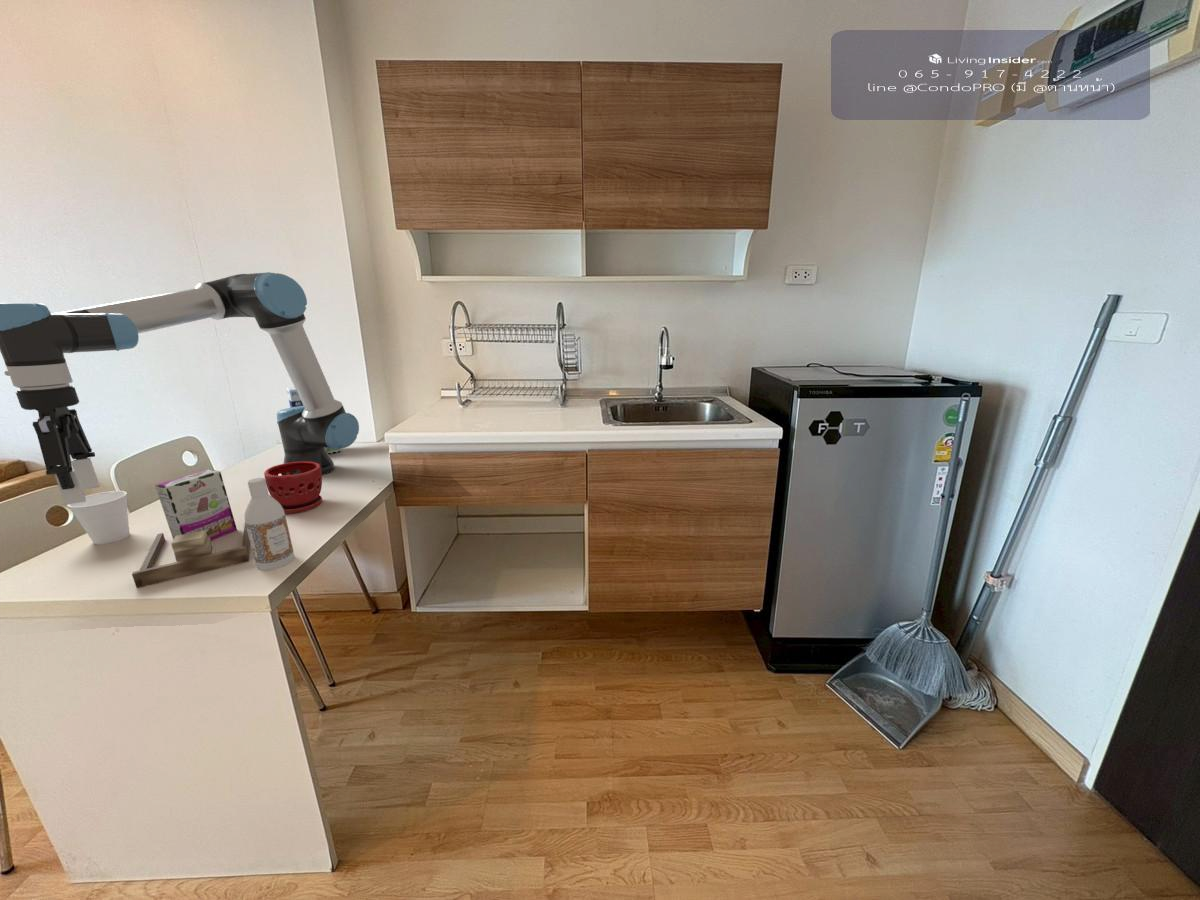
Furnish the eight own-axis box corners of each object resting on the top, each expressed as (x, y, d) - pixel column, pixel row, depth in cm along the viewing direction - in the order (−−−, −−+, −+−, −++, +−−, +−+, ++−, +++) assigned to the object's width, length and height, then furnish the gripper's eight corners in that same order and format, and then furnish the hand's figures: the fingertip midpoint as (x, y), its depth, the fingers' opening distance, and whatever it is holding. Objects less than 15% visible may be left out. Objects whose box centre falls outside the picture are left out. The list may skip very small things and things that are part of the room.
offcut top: (207, 538, 102) (205, 530, 102) (204, 546, 99) (201, 537, 98) (178, 544, 100) (176, 535, 99) (173, 552, 97) (171, 543, 96)
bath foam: (268, 577, 97) (246, 488, 91) (250, 568, 100) (228, 482, 94) (302, 561, 103) (283, 477, 97) (284, 554, 106) (265, 472, 100)
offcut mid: (212, 546, 104) (209, 536, 103) (211, 555, 100) (208, 544, 100) (179, 554, 101) (176, 544, 100) (177, 563, 97) (174, 552, 96)
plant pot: (280, 522, 122) (271, 479, 118) (267, 508, 130) (257, 468, 127) (334, 506, 131) (326, 466, 127) (318, 494, 139) (310, 457, 136)
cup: (114, 530, 118) (99, 490, 114) (151, 530, 117) (138, 490, 114) (70, 550, 108) (53, 507, 105) (111, 550, 108) (95, 507, 105)
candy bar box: (225, 528, 118) (208, 468, 113) (238, 531, 117) (222, 470, 112) (173, 549, 108) (153, 484, 103) (187, 553, 107) (167, 486, 102)
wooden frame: (252, 524, 121) (249, 510, 120) (249, 564, 102) (245, 548, 101) (160, 543, 111) (155, 528, 110) (138, 591, 92) (131, 574, 91)
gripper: (38, 381, 96) (74, 483, 102) (-12, 397, 79) (35, 518, 85) (89, 378, 100) (121, 476, 106) (52, 392, 83) (93, 508, 89)
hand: (83, 495), depth 96 cm, fingers open, 9 cm apart
